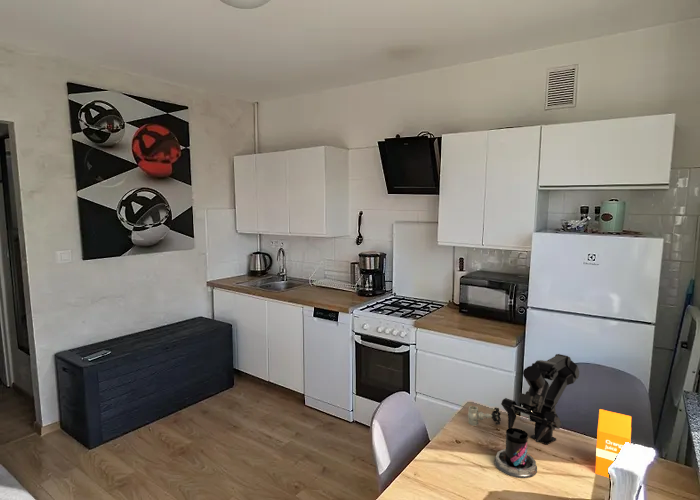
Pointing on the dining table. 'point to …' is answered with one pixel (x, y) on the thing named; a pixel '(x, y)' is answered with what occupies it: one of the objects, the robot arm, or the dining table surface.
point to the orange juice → (610, 438)
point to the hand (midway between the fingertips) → (522, 436)
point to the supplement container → (516, 448)
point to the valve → (482, 415)
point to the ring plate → (515, 472)
